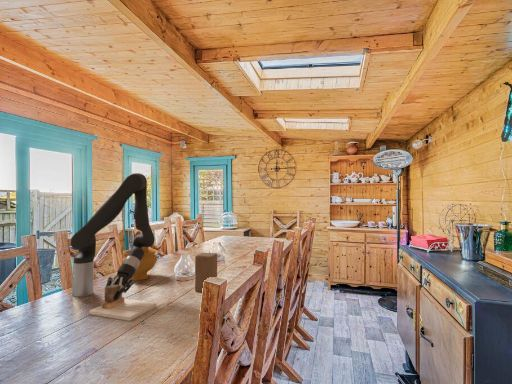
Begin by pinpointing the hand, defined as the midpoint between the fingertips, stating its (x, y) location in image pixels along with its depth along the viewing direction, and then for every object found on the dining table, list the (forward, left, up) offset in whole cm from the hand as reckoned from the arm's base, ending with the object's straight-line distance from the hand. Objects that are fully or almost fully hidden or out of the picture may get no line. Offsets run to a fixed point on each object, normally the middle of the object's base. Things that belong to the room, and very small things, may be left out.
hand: (110, 299), depth 141 cm
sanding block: (0, +2, -3) cm, 4 cm away
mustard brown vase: (-24, +50, -5) cm, 56 cm away
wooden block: (+28, +41, -5) cm, 50 cm away
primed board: (+6, +2, -5) cm, 8 cm away
